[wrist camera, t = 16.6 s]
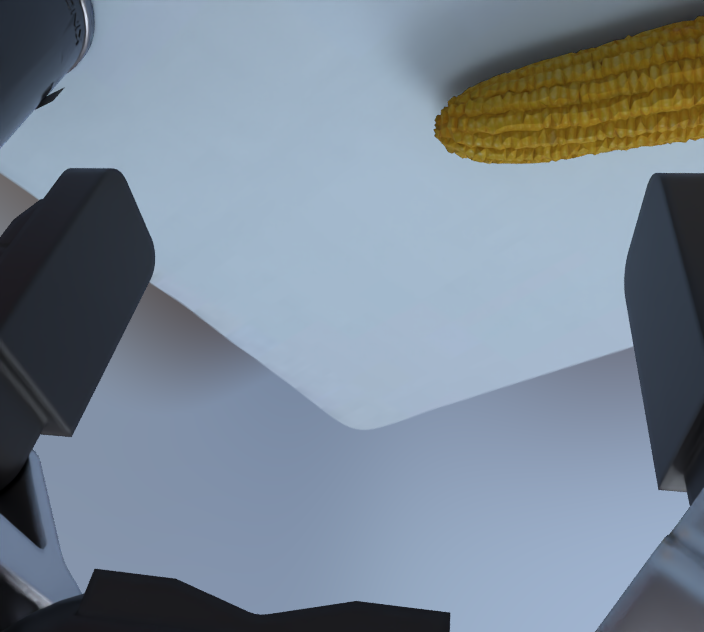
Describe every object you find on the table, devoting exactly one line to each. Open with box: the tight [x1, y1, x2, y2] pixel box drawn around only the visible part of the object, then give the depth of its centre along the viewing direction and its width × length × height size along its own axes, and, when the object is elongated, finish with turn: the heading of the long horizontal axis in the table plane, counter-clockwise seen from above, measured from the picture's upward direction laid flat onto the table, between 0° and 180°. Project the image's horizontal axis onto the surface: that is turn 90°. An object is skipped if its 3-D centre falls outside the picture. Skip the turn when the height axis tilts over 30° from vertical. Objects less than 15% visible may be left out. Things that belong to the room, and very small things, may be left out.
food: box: [434, 16, 704, 164], centre depth 32 cm, size 21×6×6 cm, turn 112°
